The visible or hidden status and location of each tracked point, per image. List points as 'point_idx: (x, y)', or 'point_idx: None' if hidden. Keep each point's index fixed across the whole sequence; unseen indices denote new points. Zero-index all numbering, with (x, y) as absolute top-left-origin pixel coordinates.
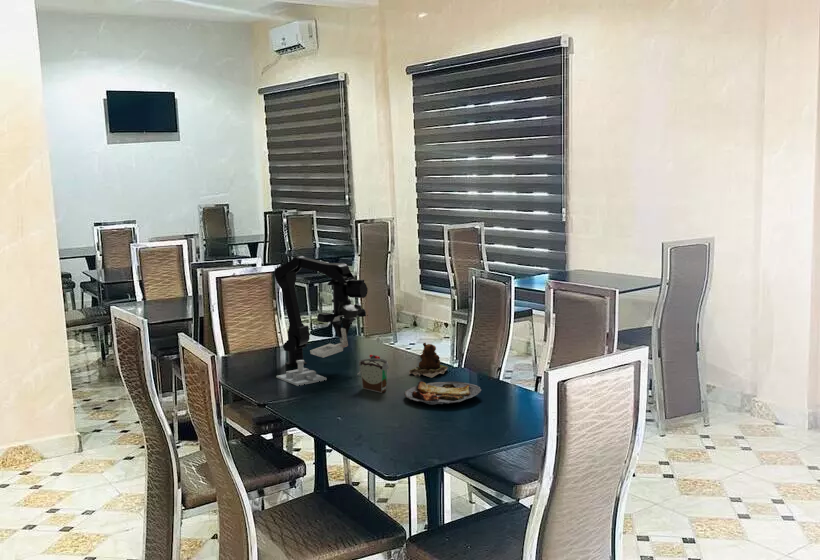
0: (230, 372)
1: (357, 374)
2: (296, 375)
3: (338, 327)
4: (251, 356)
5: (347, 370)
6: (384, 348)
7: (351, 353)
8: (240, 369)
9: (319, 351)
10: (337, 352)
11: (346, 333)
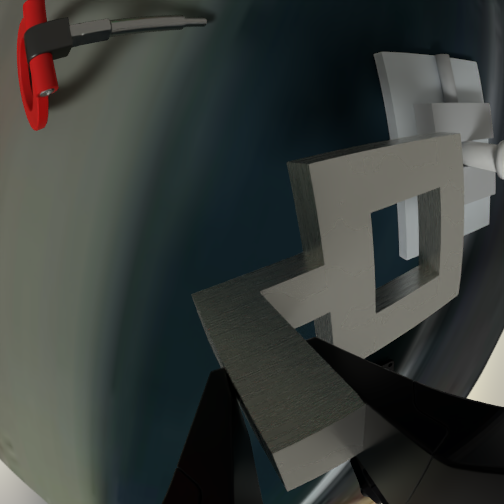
0: (492, 345)
1: (203, 24)
2: (488, 104)
3: (454, 401)
4: None
5: (205, 195)
6: (15, 460)
7: (121, 466)
8: (469, 368)
9: (453, 214)
10: (345, 149)
11: (224, 395)
